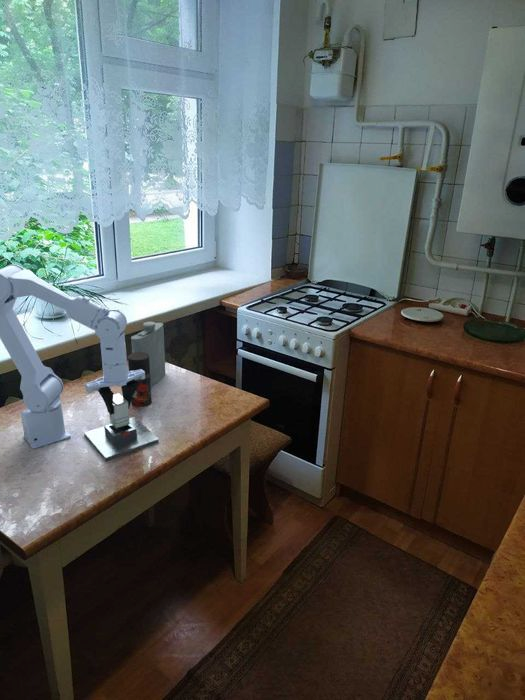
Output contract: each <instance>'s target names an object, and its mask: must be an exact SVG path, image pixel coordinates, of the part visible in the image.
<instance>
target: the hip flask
mask: <svg viewBox="0 0 525 700" xmlns="http://www.w3.org/2000/svg"><path fill="white" fill-rule="evenodd" d="M142 326H143V330H142V331H140V332H138V333H137V334H135V335H132V336H131V337H130V340H131V353H135V352H145V353H148V354H149V361H150V379H151V388H152V387H153V386H155V385H156V384H157V383H158V381H159V382H160V381H161V380H162V379H163V378H164V377H165V375H166V374H167V373H166V358H165V357H166V356H165V355H166V354H165V334H164V332H165V331H164V323H163V322H153V321H146V322H143V325H142Z"/></svg>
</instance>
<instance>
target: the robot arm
mask: <svg viewBox="0 0 525 700" xmlns="http://www.w3.org/2000/svg"><path fill="white" fill-rule="evenodd" d="M29 296H32V297H34V298H36V299H38V300H40V301H43V302H46V303H48V304H50V305H52V306H55V307H57V308H60V309H62V310H64V311H65V313H66V316H67V317H68V318H69V319H71V320H73V321H74V322H77V323H78V324H80V325H83V326H85V327H86V328H89V329H91V330H92V331H94V333H95V334H96V336H97V337H98V339H99V340H100V353H101V362H102V365H101V366H102V375H103V376H101V377H99V378H98V377H97V379H94V380H92V381H89V382H86V383H85V392H86V393H88V394H89V395H90V394H92V393H94V392H95V391H97V392H98V393H99V395H100V396H101V398H102V400H103V402H104V404H105V407H106V409H107V413H110V414H111V415H112V414H114V408H113V395H115V394H114V392H113V391H112V389H111V387H116V386H117V387H120V388H121V392H122V393H121V394H122V397H123V398H125V399H126V400H127V401H128V409H129V410H130V409H131V407H130V406H131V400H132V397H133V394H134V392H135V390H136V388H137V383H135V380H137V379H145V372H144V371H143V370H142V369H140V370H135V371H129V369H128V356H127V348H126V347H127V346H126V337H125V336H126V335H125V332H124V331H125V329H126V328H127V325H128V324H127V323H128V321H127V317H126V315H125V314H124V313H123V312H121V311H120V310H119V309H116V308H114V309H110V308H109V307H107V306H104V307H103V306H101V305H99V304H97V303H96V302H94V301H92V300H91V297H89V296H87V295H85V296H81V295H77V296H71V295H69V294H67V293H66V292H64V291H62V290H61V289H59V288H57V287H56V286H54V285H52V284H51V283H49V282H47V281H45V280H44V279H42V278H40V277H39V276H37V275H36V274H35V273H34V272H33V271H32V270H30V269H28V268H24V267H23V266H21V265H19V264H16V263H11V264H7V265H5V267H2V268H0V340H1V342H2V344H3V346H4V347H5V350H6V351H7V354H8V355H9V356H10V358H11V360H12V361H13V364H14V366H16V370H18V372H19V374H20V376H21V380H20V386H19V390H20V391H21V394H22V401H23V404H24V406H25V407H26V408H25V409H23V410H21V411H20V418H21V423H22V424H21V425H22V429H23V436H24V438H25V440H26V441H27V443H28V444H29V446H30V448H31V449H32V450H33V449H38V448H41V447H44V446H48V445H50V444H54V443H57V442H60V441H62V440H63V441H64V440H66V439H67V440H68V439H70V438H71V436H72V435H71V433H70V432H69V431H68V430H67V429H66V428H65V421H64V414H63V406H62V400H61V394H62V393H63V391H64V388H65V387H64V382H63V380H62V379H61V378H60V377H59V376H58V375H56V374H55V373H54V371H53V369H52V368H51V367H48V366H46V365H44V364H43V362H42V361H41V358H40V357H39V355H38V353H37V351H36V350H35V348H34V346H33V344H32V342H31V340H30V338H29V336H28V335H27V333H26V331H25V329H24V327H23V325H22V324H21V322H20V320H19V318H18V317H17V315H16V312H15V311H14V306H15V303H16V301H17V299H18V298H22V297H24V298H25V297H29Z"/></svg>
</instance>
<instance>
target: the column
mask: <svg viewBox="0 0 525 700" xmlns="http://www.w3.org/2000/svg"><path fill="white" fill-rule="evenodd" d="M113 408H114V414H112V415H111V414H110V413H109V412H108V413H109V423H110V424H112V425H113V426H114V427H115V428H119V427H122V426H125V425H128V424H130V422H129V418H130V414H129V413H130V412H129V410H130V409H128V401H127V400H126V399H125V398H123V395H121V394H120V393H116V394H113Z"/></svg>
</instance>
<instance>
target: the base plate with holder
mask: <svg viewBox="0 0 525 700" xmlns="http://www.w3.org/2000/svg"><path fill="white" fill-rule="evenodd" d="M129 422H130V424H128V425H125V426H122V427H119V428H115V427H114V426H113V425H112V424H111V423H110V424H106V425H104V426H101V427H97V428H95V429H90V430H87V431H84V433H83V434H84V437H85V439H87V441H88V442H89V443H90V444H91V445H92V447H93V448H94V449H95V450H96V451H97V453H98V454H99V455H100V456H101V457H102V458H103V459H104V461H105V462H108V461H111V460H113V459H116V458H119V457H122V456H125V455H128V454H131V453H134V452H136V451H138V450H142V449H145V448H148V447H150V446H153V445H156V444H158V443H159V441H160V440H159V438H158V437H157V436H156V435H155V434H154V433H152V432H151V430H150V429H148V428H147V426H145V425H144V424H143V423H142V422H141V421H140V420H138V418H136V416H133V417H129Z"/></svg>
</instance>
